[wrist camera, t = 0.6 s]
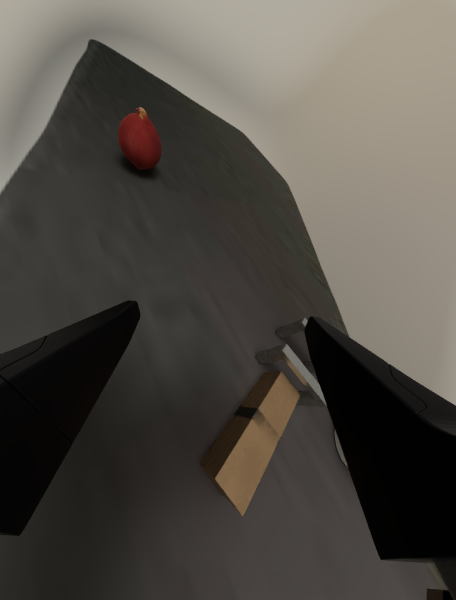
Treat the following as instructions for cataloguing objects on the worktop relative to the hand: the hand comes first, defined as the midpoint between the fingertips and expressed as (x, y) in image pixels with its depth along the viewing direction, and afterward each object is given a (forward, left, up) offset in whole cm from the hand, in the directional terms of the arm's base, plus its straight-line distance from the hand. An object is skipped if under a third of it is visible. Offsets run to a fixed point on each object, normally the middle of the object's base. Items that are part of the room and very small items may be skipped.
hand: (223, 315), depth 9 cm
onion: (+29, +13, -13) cm, 34 cm away
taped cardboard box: (-6, -10, -13) cm, 18 cm away
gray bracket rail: (+1, -18, -13) cm, 22 cm away
